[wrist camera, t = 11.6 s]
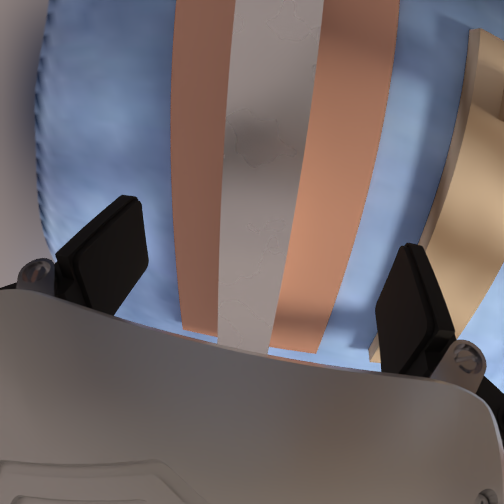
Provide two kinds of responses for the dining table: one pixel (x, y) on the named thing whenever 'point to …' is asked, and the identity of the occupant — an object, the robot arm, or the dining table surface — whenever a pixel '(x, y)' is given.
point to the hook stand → (470, 189)
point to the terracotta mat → (313, 168)
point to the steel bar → (263, 160)
